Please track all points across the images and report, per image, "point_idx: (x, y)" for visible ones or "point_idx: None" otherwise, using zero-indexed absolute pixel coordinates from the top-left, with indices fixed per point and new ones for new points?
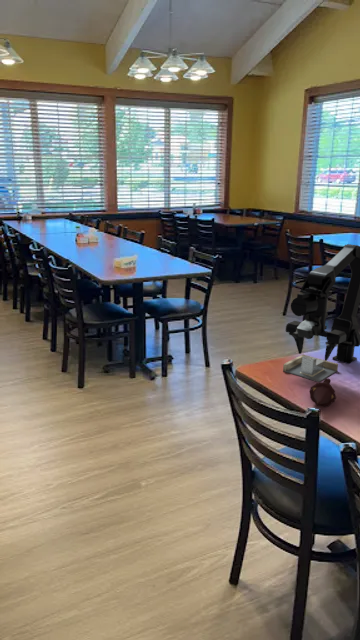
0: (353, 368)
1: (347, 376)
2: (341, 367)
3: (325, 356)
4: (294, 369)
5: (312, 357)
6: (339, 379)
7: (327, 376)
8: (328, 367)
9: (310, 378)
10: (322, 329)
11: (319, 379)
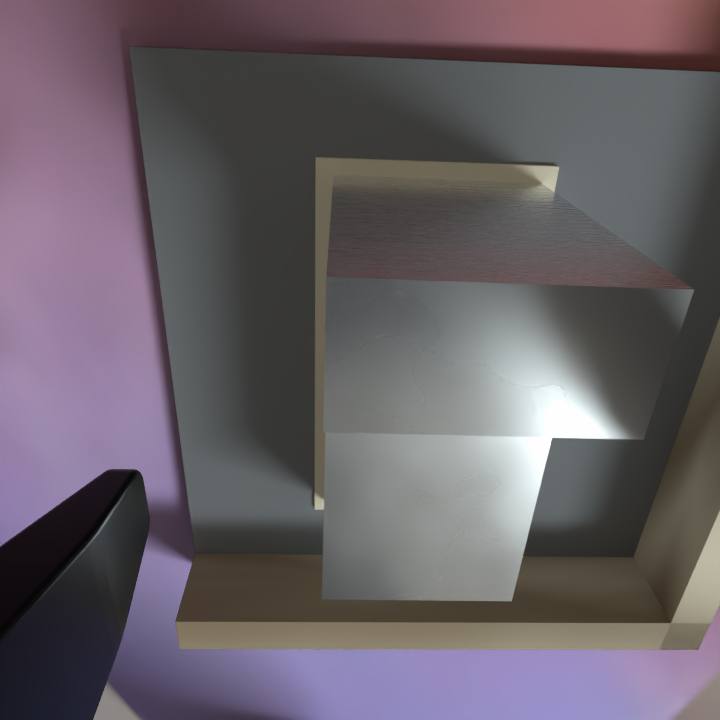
0: (127, 695)
1: (22, 507)
2: (226, 657)
3: (64, 534)
4: (676, 245)
5: (432, 419)
6: (15, 369)
7: (170, 340)
8: (298, 563)
9: (305, 54)
10: None
11: (165, 120)
